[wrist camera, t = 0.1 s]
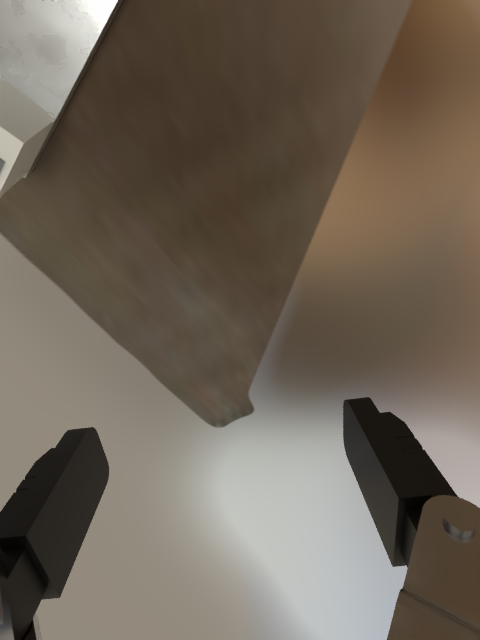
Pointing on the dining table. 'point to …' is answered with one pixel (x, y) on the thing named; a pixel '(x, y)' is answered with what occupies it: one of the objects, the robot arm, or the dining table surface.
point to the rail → (51, 48)
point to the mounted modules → (19, 134)
